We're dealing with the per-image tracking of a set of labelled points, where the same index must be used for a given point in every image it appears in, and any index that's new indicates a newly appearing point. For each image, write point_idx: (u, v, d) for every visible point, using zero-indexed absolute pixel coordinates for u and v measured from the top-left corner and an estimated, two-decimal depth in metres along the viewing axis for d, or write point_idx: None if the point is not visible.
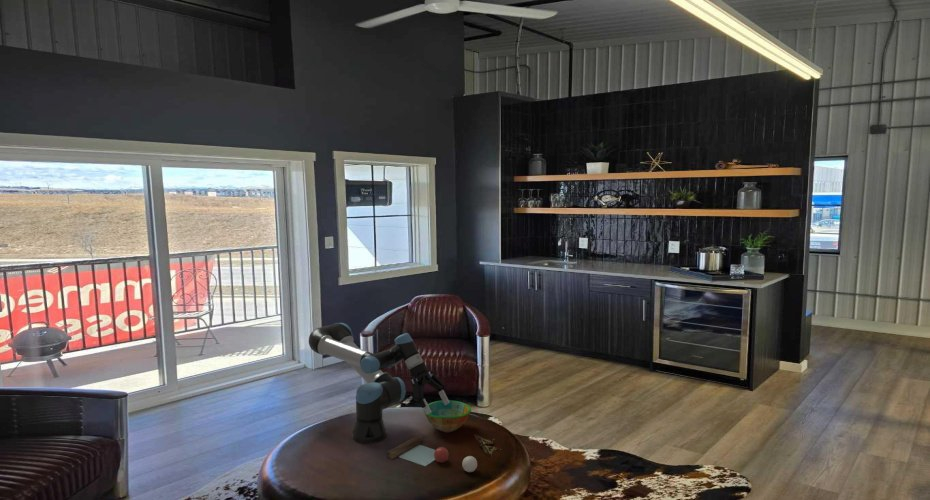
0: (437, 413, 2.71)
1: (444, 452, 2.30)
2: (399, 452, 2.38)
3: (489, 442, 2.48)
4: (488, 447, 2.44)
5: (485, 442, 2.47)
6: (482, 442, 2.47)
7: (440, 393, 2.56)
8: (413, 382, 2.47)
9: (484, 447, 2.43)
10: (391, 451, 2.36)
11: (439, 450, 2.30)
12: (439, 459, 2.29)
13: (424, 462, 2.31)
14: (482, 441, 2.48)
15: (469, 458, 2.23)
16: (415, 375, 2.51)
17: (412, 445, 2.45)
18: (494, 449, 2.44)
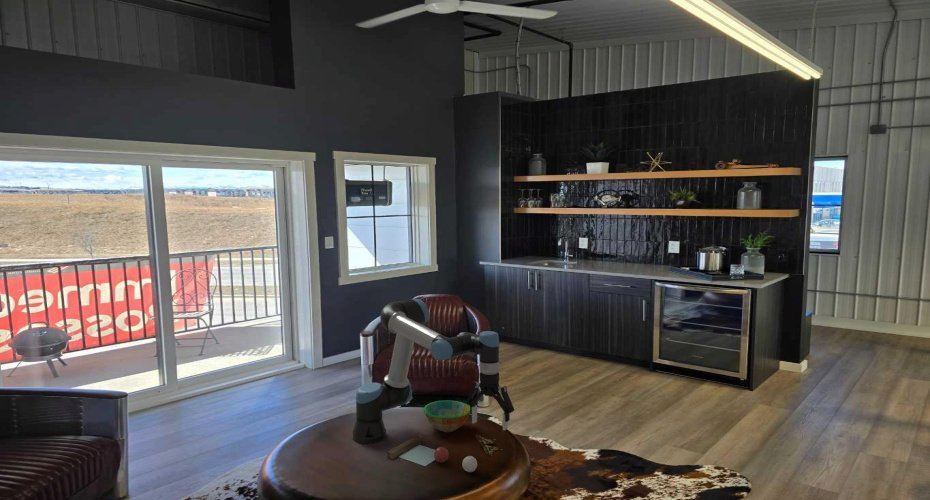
0: (437, 413, 2.71)
1: (444, 452, 2.30)
2: (399, 452, 2.38)
3: (490, 442, 2.48)
4: (488, 447, 2.44)
5: (486, 442, 2.48)
6: (483, 442, 2.47)
7: None
8: None
9: (484, 447, 2.43)
10: (391, 451, 2.36)
11: (439, 450, 2.30)
12: (439, 459, 2.29)
13: (424, 462, 2.31)
14: (482, 440, 2.48)
15: (469, 458, 2.23)
16: None
17: (412, 445, 2.45)
18: (494, 449, 2.44)
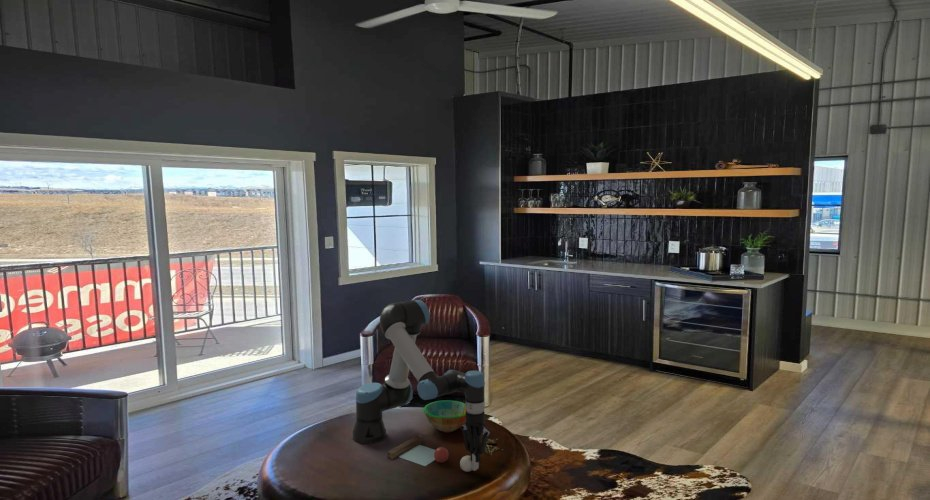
0: (437, 413, 2.71)
1: (444, 452, 2.30)
2: (399, 452, 2.38)
3: (491, 442, 2.49)
4: (489, 446, 2.45)
5: (487, 441, 2.48)
6: None
7: None
8: None
9: None
10: (391, 451, 2.36)
11: (439, 450, 2.30)
12: (439, 459, 2.29)
13: (424, 462, 2.31)
14: None
15: (464, 457, 2.24)
16: None
17: (412, 445, 2.45)
18: (495, 449, 2.44)
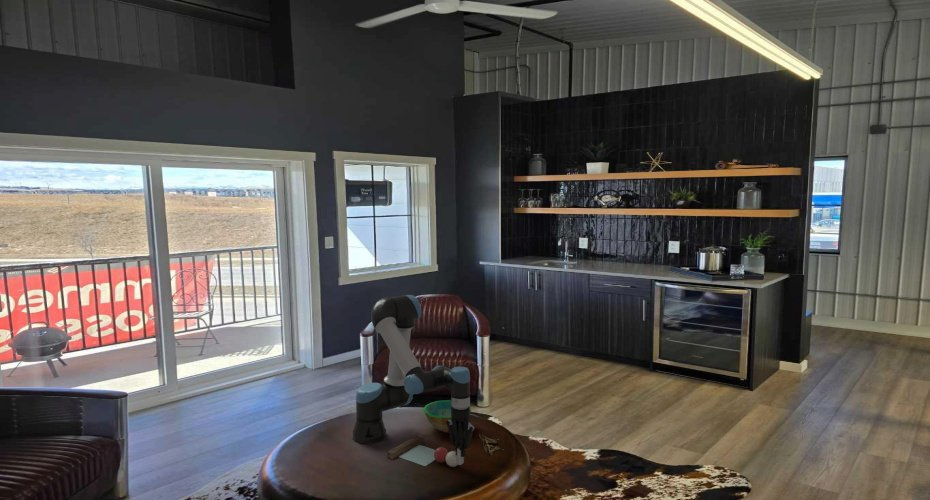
0: (437, 413, 2.71)
1: (444, 452, 2.30)
2: (399, 452, 2.38)
3: (492, 441, 2.49)
4: (490, 446, 2.45)
5: (488, 441, 2.48)
6: (485, 441, 2.48)
7: None
8: None
9: (486, 446, 2.44)
10: (391, 451, 2.36)
11: (439, 450, 2.31)
12: (439, 459, 2.29)
13: (424, 462, 2.31)
14: (485, 439, 2.49)
15: None
16: None
17: (412, 445, 2.45)
18: (496, 449, 2.44)
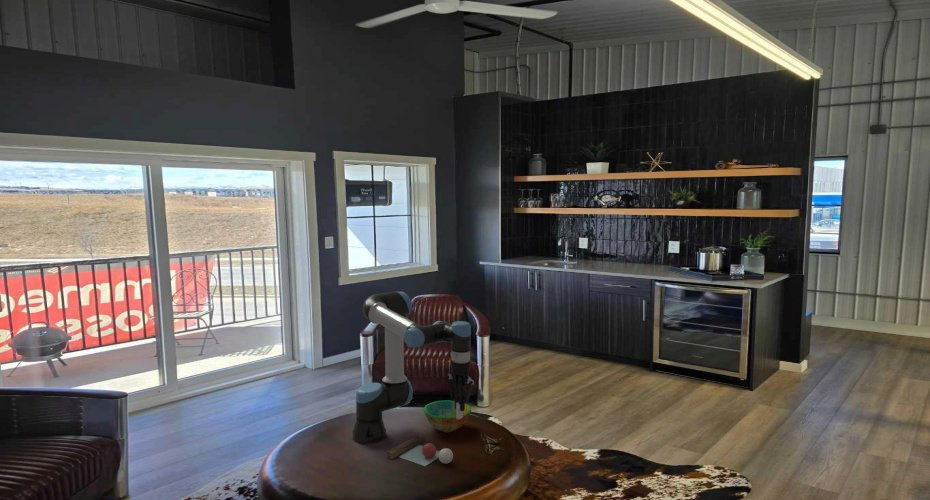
0: (437, 413, 2.71)
1: None
2: (399, 452, 2.38)
3: (494, 441, 2.49)
4: (491, 446, 2.45)
5: (489, 441, 2.49)
6: (486, 440, 2.48)
7: None
8: None
9: (486, 445, 2.45)
10: (391, 451, 2.36)
11: None
12: (425, 449, 2.33)
13: (424, 462, 2.31)
14: (487, 439, 2.50)
15: None
16: None
17: (412, 445, 2.45)
18: (496, 448, 2.44)
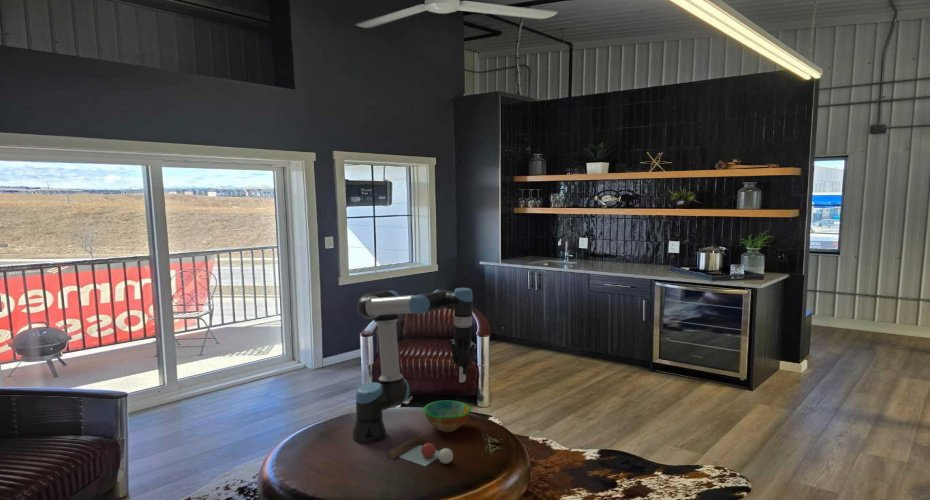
0: (437, 413, 2.71)
1: None
2: (399, 452, 2.38)
3: (495, 441, 2.49)
4: (491, 446, 2.45)
5: (490, 441, 2.49)
6: (487, 440, 2.48)
7: None
8: None
9: (487, 445, 2.45)
10: (391, 451, 2.36)
11: None
12: (424, 449, 2.34)
13: (424, 462, 2.31)
14: (488, 439, 2.50)
15: None
16: None
17: (412, 445, 2.45)
18: (497, 448, 2.44)
